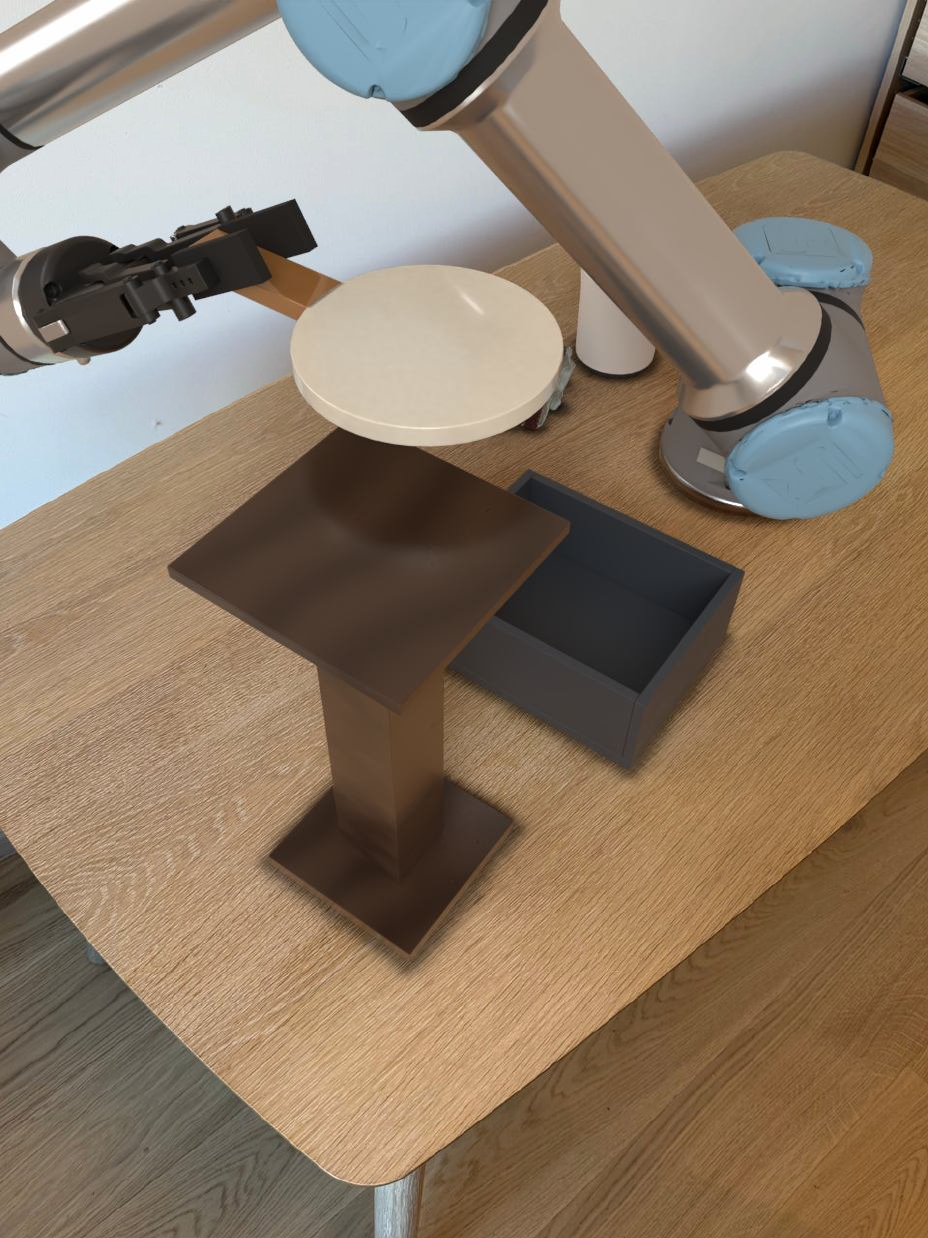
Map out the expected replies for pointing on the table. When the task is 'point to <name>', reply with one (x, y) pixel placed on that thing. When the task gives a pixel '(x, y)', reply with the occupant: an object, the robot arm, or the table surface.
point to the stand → (378, 657)
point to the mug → (608, 336)
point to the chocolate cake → (556, 396)
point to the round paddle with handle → (415, 349)
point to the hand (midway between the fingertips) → (278, 240)
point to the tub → (603, 626)
